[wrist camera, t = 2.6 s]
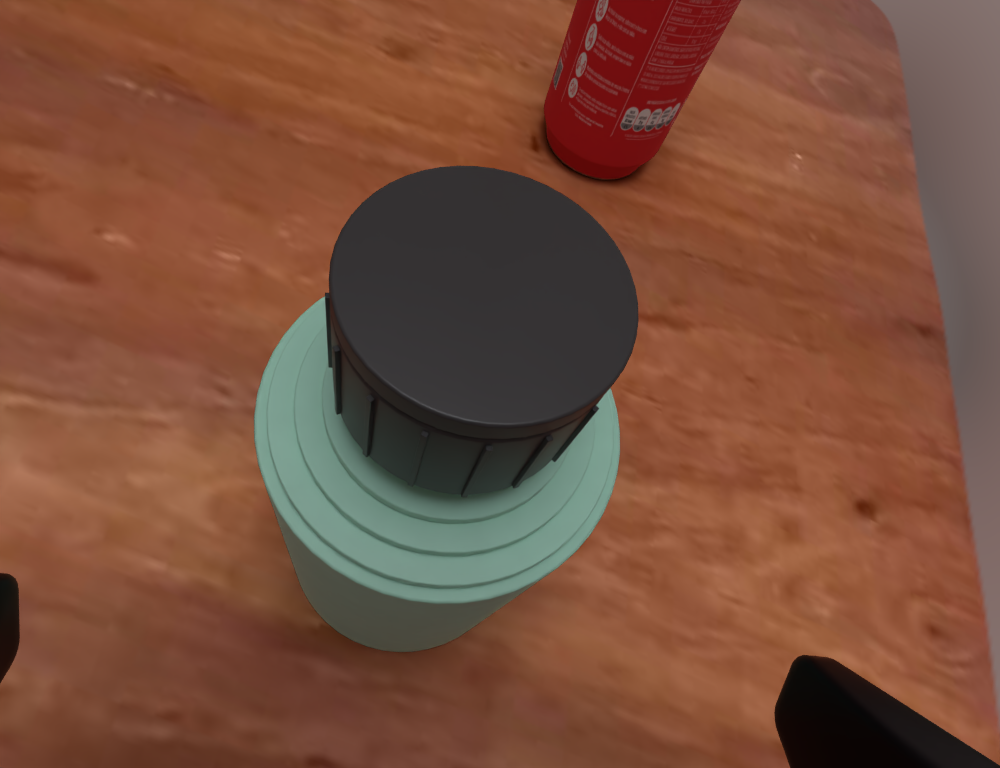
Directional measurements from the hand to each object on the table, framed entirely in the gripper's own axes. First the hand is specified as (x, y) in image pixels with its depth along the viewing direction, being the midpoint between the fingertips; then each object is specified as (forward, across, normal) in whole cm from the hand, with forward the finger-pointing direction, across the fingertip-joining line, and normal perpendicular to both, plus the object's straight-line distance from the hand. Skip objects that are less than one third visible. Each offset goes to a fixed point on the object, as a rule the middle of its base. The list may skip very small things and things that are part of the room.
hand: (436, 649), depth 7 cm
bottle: (+10, 0, +5) cm, 11 cm away
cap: (+2, 0, -4) cm, 4 cm away
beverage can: (+23, -6, -8) cm, 25 cm away
